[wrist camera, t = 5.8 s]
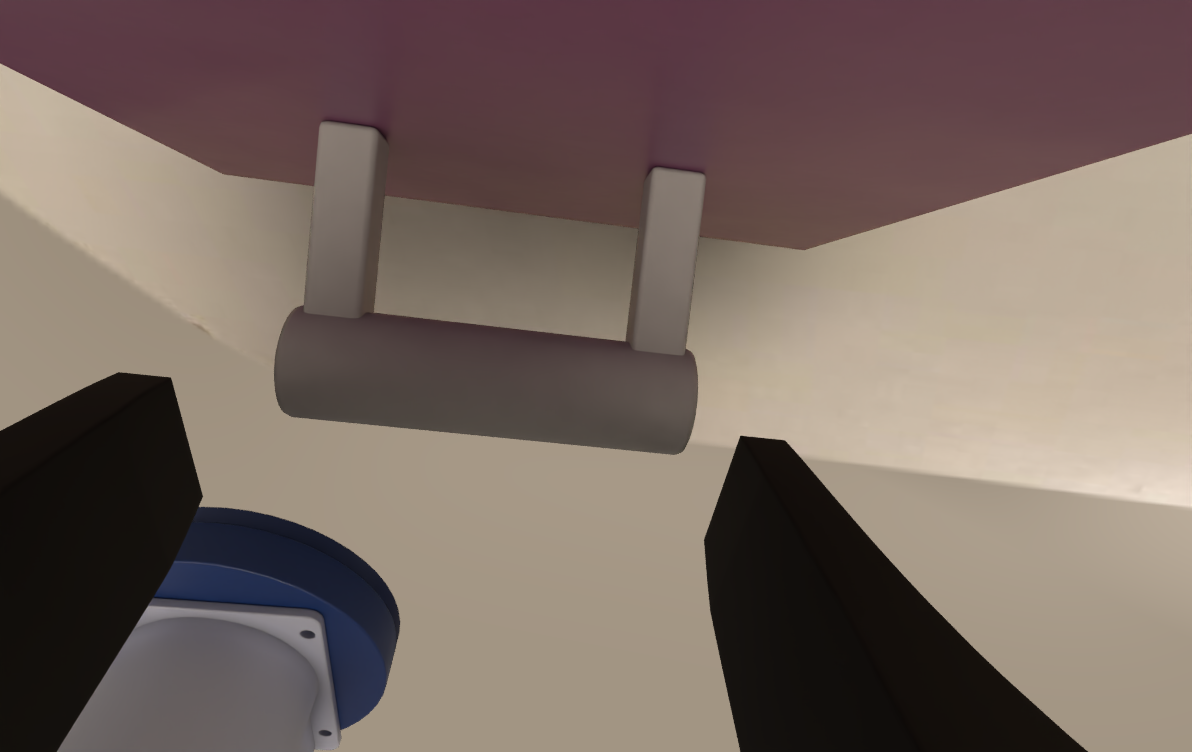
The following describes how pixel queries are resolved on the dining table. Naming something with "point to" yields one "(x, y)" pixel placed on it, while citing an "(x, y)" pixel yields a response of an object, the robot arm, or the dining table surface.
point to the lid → (600, 153)
